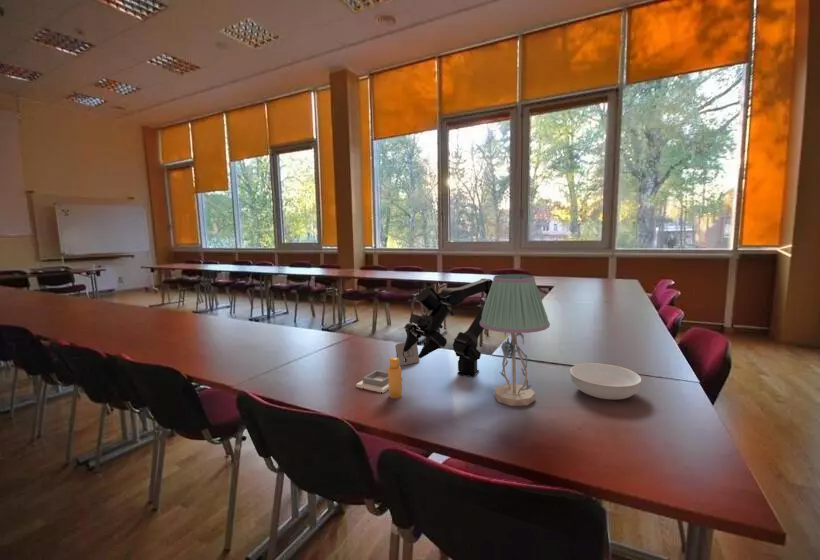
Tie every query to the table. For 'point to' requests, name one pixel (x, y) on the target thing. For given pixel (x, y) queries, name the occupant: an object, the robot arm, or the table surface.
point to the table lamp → (514, 327)
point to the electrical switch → (407, 354)
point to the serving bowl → (605, 380)
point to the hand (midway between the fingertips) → (411, 354)
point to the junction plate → (375, 381)
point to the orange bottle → (394, 378)
